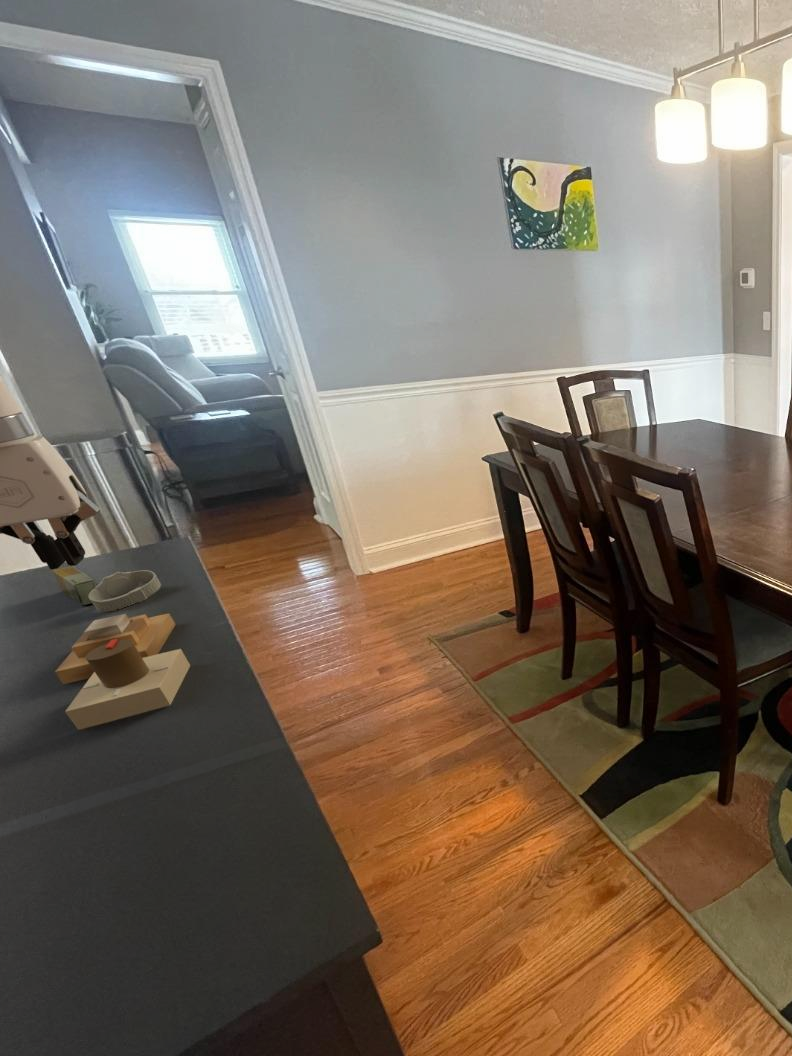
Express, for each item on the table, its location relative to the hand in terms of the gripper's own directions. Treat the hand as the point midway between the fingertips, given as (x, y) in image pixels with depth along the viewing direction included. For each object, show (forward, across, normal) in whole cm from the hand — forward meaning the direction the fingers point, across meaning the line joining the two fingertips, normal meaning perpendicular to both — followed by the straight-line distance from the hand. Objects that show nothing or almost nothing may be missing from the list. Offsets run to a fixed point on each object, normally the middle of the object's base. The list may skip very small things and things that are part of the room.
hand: (68, 563), depth 82 cm
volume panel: (+15, +6, -15) cm, 22 cm away
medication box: (+15, -13, +28) cm, 35 cm away
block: (+15, 0, 0) cm, 15 cm away
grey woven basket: (+15, -4, +21) cm, 26 cm away
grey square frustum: (+12, 0, 0) cm, 12 cm away
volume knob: (+12, +6, -15) cm, 20 cm away
